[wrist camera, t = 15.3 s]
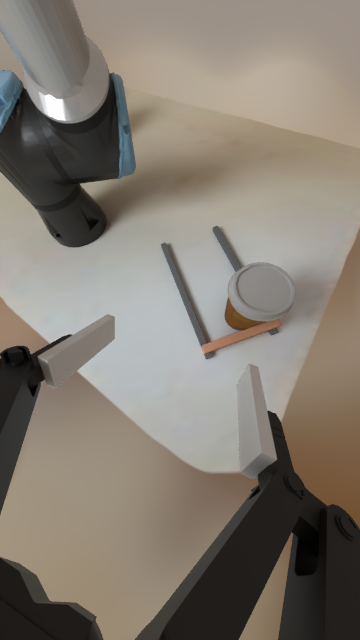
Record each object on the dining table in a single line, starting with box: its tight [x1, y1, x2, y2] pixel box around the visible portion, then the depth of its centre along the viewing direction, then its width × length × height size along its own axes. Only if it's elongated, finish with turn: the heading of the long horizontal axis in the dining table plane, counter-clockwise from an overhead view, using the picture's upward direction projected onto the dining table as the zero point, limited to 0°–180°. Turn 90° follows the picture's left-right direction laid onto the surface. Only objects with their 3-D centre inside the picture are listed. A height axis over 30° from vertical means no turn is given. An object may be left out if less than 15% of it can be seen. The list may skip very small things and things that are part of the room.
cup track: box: [161, 226, 282, 359], centre depth 35 cm, size 30×15×3 cm, turn 20°
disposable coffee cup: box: [225, 262, 295, 330], centre depth 28 cm, size 10×10×12 cm
